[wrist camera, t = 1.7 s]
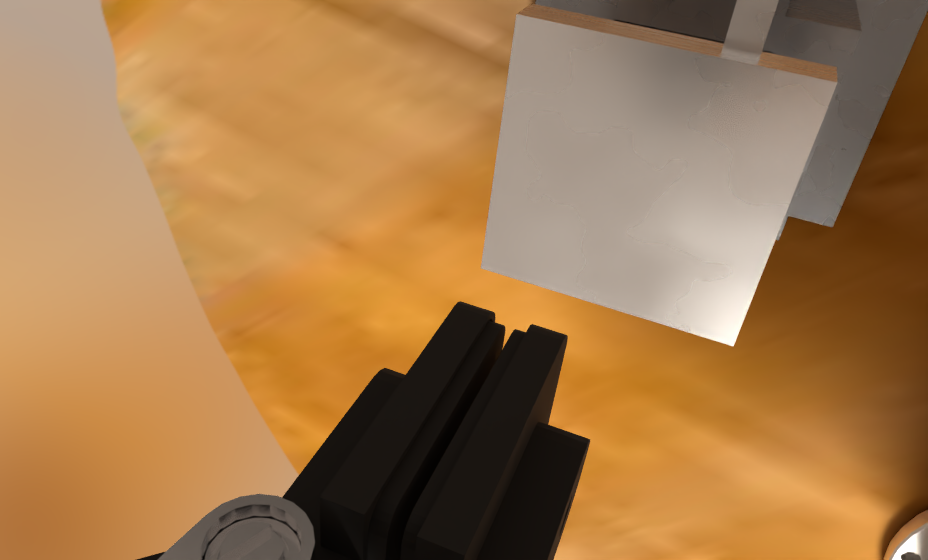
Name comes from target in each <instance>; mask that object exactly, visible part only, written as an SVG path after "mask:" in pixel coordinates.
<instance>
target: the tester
mask: <svg viewBox="0 0 928 560" xmlns="http://www.w3.org/2000/svg"><path fill="white" fill-rule="evenodd" d="M736 2H737V0H536V3H535V4H537V5H542V6H546V7H551V8H556V9H561V10H566V11H570V12H575V13H580V14H585V15H590V16H594V17H599V18H604V19H609V20H614V21H618V22H623V23H628V24H633V25H638V26H639V25H644V26H649V27H654V28H659V29H664V30H668V31H673V32H678V33H683V34H688V35H692V36H697V37H702V38H707V39H712V40H717V41H721V42H725V39H726V35H727V32H728V29H729V25H730V22H731V18H732V15H733V12H734V8H735V5H736ZM927 11H928V0H779V1H778V4H777V7H776V10H775V13H774V16H773V19H772V22H771V25H770V28H769V32H768V35H767V38H766V41H765V44H764V47H763V50H762V52H767V53H772V54H777V55H781V56H786V57H791V58H796V59H801V60H805V61H810V62H815V63H820V64H825V65H829V66H834V67H837V85H836V88H835V90H834V93H833V95H832V98H831V100H830V103H829V105H828V108H827V110H826V113H825V116H824V118H823V121H822V123H821V126H820V128H819V131H818V133H817V136H816V138H815V141H814V143H813V146H812V148H811V151H810V154H809V156H808V159H807V161H806V164H805V166H804V169H803V171H802V174H801V176H800V179H799V181H798V184H797V187H796V189H795V192H794V194H793V197H792V199H791V202H790V204H789V207H788V209H787V212H786V214H785V217H784V219H783V222H782V225H781V227H780V230H779V232H778V235H777V237H776V240H779V238H780V236H781V233H782V231H783V228H784V226H785V223H786V221H787V218H788V216H791V217H794V218H798V219H802V220H806V221H810V222H814V223H817V224H821V225H825V226H829V227H833V225H834V223H835V220H836V218H837V216H838V214H839V211H840V209H841V207H842V204H843V202H844V200H845V198H846V195H847V193H848V191H849V189H850V186H851V184H852V182H853V179H854V177H855V175H856V173H857V170H858V168H859V166H860V163H861V161H862V159H863V157H864V154H865V152H866V150H867V148H868V145H869V143H870V141H871V138H872V136H873V134H874V132H875V129H876V127H877V125H878V123H879V120H880V118H881V116H882V113H883V111H884V109H885V107H886V104H887V102H888V100H889V97H890V95H891V93H892V91H893V88H894V86H895V84H896V82H897V79H898V77H899V75H900V72H901V70H902V68H903V66H904V63H905V61H906V59H907V57H908V54H909V52H910V50H911V47H912V45H913V43H914V41H915V38H916V36H917V34H918V31H919V29H920V27H921V25H922V22H923V20H924V18H925V16H926V13H927Z"/></svg>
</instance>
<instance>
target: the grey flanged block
mask: <svg viewBox="0 0 928 560" xmlns="http://www.w3.org/2000/svg"><path fill="white" fill-rule="evenodd" d="M778 1H779V0H737V2H736V5H735V8H734V12H733V15H732V18H731V22H730V25H729V29H728V32H727V35H726V39H725V42H721V41H717V40H712V39H707V38H702V37H697V36H692V35H688V34H683V33H678V32H673V31H668V30H664V29H659V28H654V27H649V26H644V25H639V26H638V25H633V24H628V23H623V22H618V21H614V20H609V19H604V18H599V17H594V16H590V15H585V14H580V13H575V12H570V11H566V10H561V9H556V8H551V7H546V6H542V5H537V4H531V5H529V6H528V7H526V8H525V9H523V10H522V11H520V12H519V13H517V14H516V22H515V29H514V36H513V43H512V50H511V57H510V64H509V71H508V79H507V86H506V93H505V100H504V107H503V114H502V121H501V128H500V136H499V143H498V150H497V157H496V164H495V171H494V178H493V185H492V193H491V200H490V207H489V214H488V221H487V228H486V235H485V242H484V250H483V257H482V264H481V268H482V269H485V270H488V271H491V272H495V273H498V274H501V275H504V276H508V277H511V278H514V279H517V280H521V281H524V282H527V283H530V284H533V285H537V286H540V287H543V288H546V289H550V290H553V291H556V292H559V293H563V294H566V295H569V296H572V297H575V298H579V299H582V300H585V301H588V302H592V303H595V304H598V305H601V306H604V307H608V308H611V309H614V310H617V311H621V312H624V313H627V314H630V315H634V316H637V317H640V318H643V319H646V320H650V321H653V322H656V323H659V324H663V325H666V326H669V327H672V328H676V329H679V330H682V331H685V332H688V333H692V334H695V335H698V336H701V337H705V338H708V339H711V340H714V341H718V342H721V343H724V344H727V345H730V346H734V344H735V341H736V339H737V336H738V334H739V331H740V329H741V326H742V323H743V321H744V318H745V316H746V313H747V311H748V308H749V306H750V303H751V301H752V298H753V296H754V293H755V290H756V288H757V285H758V283H759V280H760V278H761V275H762V273H763V270H764V268H765V265H766V263H767V260H768V258H769V255H770V252H771V250H772V247H773V245H774V242H775V240H776V237H777V235H778V232H779V230H780V227H781V225H782V222H783V219H784V217H785V214H786V212H787V209H788V207H789V204H790V202H791V199H792V197H793V194H794V192H795V189H796V187H797V184H798V181H799V179H800V176H801V174H802V171H803V169H804V166H805V164H806V161H807V159H808V156H809V154H810V151H811V148H812V146H813V143H814V141H815V138H816V136H817V133H818V131H819V128H820V126H821V123H822V121H823V118H824V116H825V113H826V110H827V108H828V105H829V103H830V100H831V98H832V95H833V93H834V90H835V88H836V85H837V67H834V66H829V65H825V64H820V63H815V62H810V61H805V60H801V59H796V58H791V57H786V56H781V55H777V54H772V53H767V52H762V50H763V47H764V44H765V41H766V38H767V35H768V32H769V28H770V25H771V22H772V19H773V16H774V13H775V10H776V7H777V4H778Z"/></svg>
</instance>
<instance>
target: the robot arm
mask: <svg viewBox="0 0 928 560" xmlns="http://www.w3.org/2000/svg"><path fill="white" fill-rule="evenodd" d="M504 336H505V326H504V325H501V324H498V323H495V313H494V312H492V311H489V310H486V309H482V308H479V307H476V306H473V305H470V304H467V303H464V302H458V303H457V304H456V305H455V306H454V307H453V309H452V310H451V312H450V313H449V315H448V316H447V317H446V319H445V320H444V322H443V323H442V324H441V326H440V327H439V329H438V330H437V332H436V333H435V334H434V336H433V337H432V339H431V340H430V341H429V343H428V344H427V346H426V347H425V349H424V350H423V351H422V353H421V354H420V356H419V357H418V358H417V360H416V361H415V363H414V364H413V366H412V367H411V368H410V370H409V371H408V373H407V374H406V375H404V374H401V373H398V372H395V371H393V370H390V369H387V368H384V369H382V370H380V371H379V372H378V373H377V374H376V375H375V376H374V377H373V379H372V380H371V381H370V383H369V384H368V385H367V387H366V388H365V389H364V390H363V392H362V393H361V394H360V396H359V397H358V398H357V400H356V401H355V402H354V404H353V405H352V406H351V408H350V409H349V410H348V412H347V413H346V414H345V416H344V417H343V418H342V419H341V421H340V422H339V423H338V425H337V426H336V427H335V429H334V430H333V431H332V433H331V434H330V435H329V437H328V438H327V439H326V441H325V442H324V443H323V445H322V446H321V447H320V448H319V450H318V451H317V452H316V454H315V455H314V456H313V458H312V459H311V460H310V462H309V463H308V464H307V466H306V467H305V468H304V470H303V471H302V472H301V474H300V475H299V476H298V477H297V479H296V480H295V481H294V483H293V484H292V485H291V487H290V488H289V490H288V491H287V492H286V493H285V495H284V496H283V497H282V498H281V497H279V496H272V495H263V494H256V495H249V496H242V497H238V498H236V499H233V500H230V501H228V502H225V503H223V504H221V505H220V506H218V507H217V508H215V509H214V510H213V511H211V512H210V513H208V514H207V515H206V516H205V517H203V518H202V519H201V520H200V521H199V522H198V523H197V524H196V525H195V526H194V527H192V528H191V529H190V530H189V531H188V532H187V533H186V534H185V535H184V536H183V537H182V538H180V539H179V540H178V541H177V542H176V543H175V544H174V545H173V546H172V547H171V548H169V549H168V550H167V551H166V552H162V553H159V554H155V555H151V556H148V557H144V558H141V559H137V560H553V559H554V556H555V553H556V550H557V547H558V544H559V542H560V539H561V536H562V533H563V530H564V527H565V524H566V521H567V518H568V515H569V511H570V508H571V505H572V502H573V499H574V496H575V492H576V489H577V486H578V482H579V479H580V476H581V472H582V469H583V465H584V462H585V458H586V454H587V451H588V447H589V443H590V439H587V438H585V437H582V436H579V435H576V434H573V433H570V432H567V431H564V430H562V429H559V428H556V427H553V426H550V425H548V422H549V418H550V414H551V409H552V405H553V401H554V397H555V392H556V388H557V384H558V379H559V375H560V371H561V366H562V362H563V358H564V353H565V349H566V344H567V338H568V336H567V335H565V334H562V333H558V332H555V331H552V330H549V329H546V328H543V327H539V326H536V325H533V324H532V325H530V327H529V328H528V330H527V332H523V331H519V330H516V329H515V330H514V331H513V332H512V334H511V336H510V337H509V339H508V341H507V343H506V344H505V346H504V348H503V342H504ZM502 348H503V350H502ZM884 560H928V510H926V511H924V512H922V513H920V514H918V515H917V516H915V517H914V518H913V519H912V520H910V521H909V522H908V523H907V524H905V525H904V526H903V527H902V528H901V529H900V530H899V531H898V533H897V534H896V535H895V536H894V538H893V539H892V540H891V542H890V543H889V546H888V548H887V551H886V554H885V556H884Z"/></svg>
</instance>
